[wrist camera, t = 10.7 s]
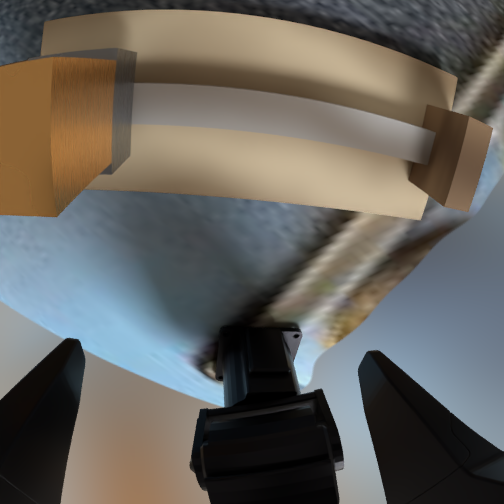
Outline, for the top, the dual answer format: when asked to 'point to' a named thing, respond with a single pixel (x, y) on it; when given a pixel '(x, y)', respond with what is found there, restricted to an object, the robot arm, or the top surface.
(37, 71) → the slider block
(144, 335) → the top surface
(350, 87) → the rail board
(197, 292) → the top surface
